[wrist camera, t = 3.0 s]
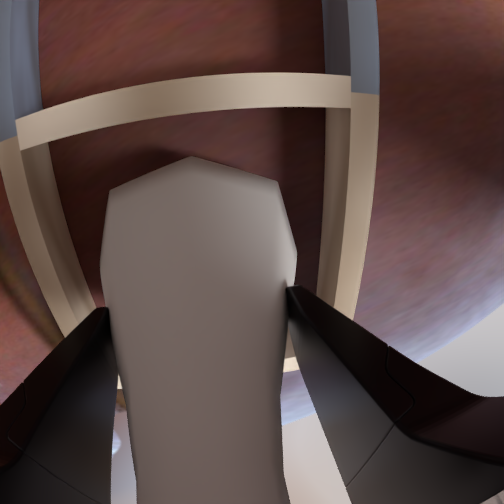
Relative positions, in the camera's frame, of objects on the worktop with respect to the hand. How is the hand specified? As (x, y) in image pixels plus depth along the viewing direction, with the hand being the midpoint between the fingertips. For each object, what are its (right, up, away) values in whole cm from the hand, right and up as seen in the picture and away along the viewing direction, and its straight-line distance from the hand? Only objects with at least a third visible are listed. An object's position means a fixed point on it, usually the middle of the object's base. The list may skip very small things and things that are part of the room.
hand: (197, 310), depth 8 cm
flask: (0, +2, +3) cm, 3 cm away
